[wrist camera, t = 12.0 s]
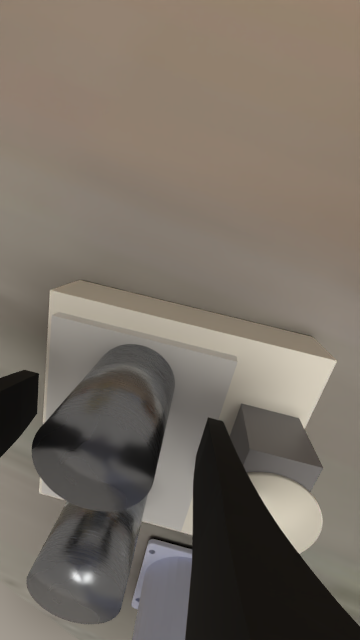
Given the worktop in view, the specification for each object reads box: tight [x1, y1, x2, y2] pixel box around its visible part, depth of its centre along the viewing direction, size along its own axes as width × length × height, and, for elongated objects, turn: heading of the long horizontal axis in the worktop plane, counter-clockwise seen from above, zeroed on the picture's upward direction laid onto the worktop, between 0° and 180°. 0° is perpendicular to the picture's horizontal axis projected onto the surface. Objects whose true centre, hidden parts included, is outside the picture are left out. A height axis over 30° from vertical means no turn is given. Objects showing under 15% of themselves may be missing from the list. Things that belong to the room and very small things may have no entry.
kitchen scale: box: [39, 280, 337, 554], centre depth 14 cm, size 14×15×6 cm
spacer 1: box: [32, 344, 175, 512], centre depth 11 cm, size 4×4×5 cm
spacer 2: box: [27, 494, 148, 624], centre depth 13 cm, size 4×4×5 cm
